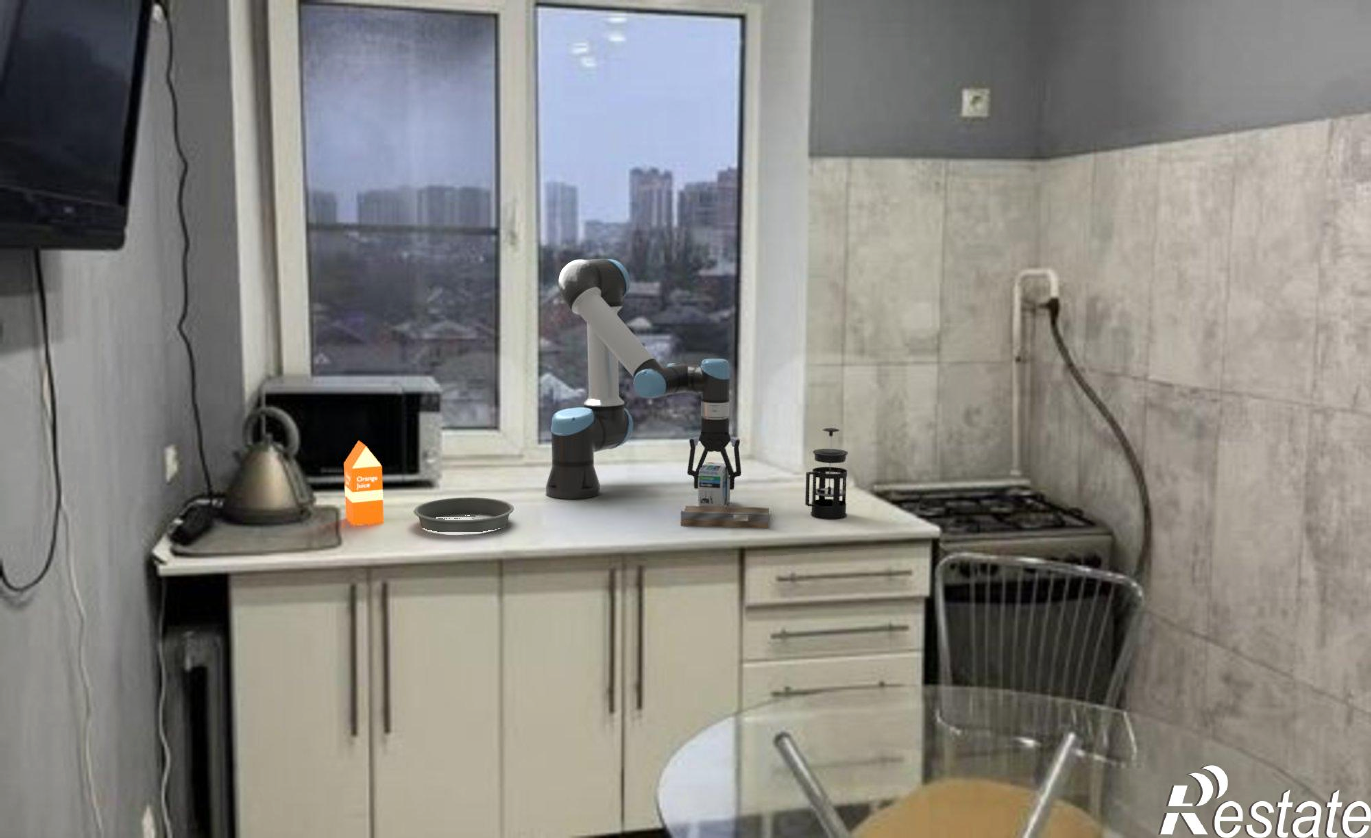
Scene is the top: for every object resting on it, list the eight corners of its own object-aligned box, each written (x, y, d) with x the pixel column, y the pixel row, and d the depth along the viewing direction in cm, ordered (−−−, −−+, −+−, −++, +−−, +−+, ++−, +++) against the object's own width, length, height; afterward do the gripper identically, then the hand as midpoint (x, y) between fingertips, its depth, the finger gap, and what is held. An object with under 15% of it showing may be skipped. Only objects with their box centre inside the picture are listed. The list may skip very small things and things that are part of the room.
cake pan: (471, 543, 281) (471, 525, 280) (393, 529, 292) (392, 511, 292) (533, 521, 302) (533, 504, 301) (458, 509, 314) (458, 492, 313)
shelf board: (680, 525, 297) (680, 512, 297) (685, 511, 312) (685, 498, 312) (768, 528, 296) (768, 514, 295) (769, 513, 311) (769, 500, 310)
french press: (839, 509, 316) (841, 424, 312) (855, 517, 307) (858, 430, 303) (798, 512, 312) (801, 426, 308) (813, 521, 303) (816, 432, 300)
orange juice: (353, 526, 294) (350, 447, 291) (345, 518, 302) (342, 441, 299) (384, 522, 298) (381, 444, 295) (376, 514, 306) (373, 438, 302)
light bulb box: (722, 510, 314) (723, 470, 312) (697, 508, 315) (698, 469, 313) (729, 501, 324) (730, 462, 323) (705, 499, 326) (705, 461, 324)
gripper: (676, 418, 313) (675, 503, 317) (752, 420, 311) (750, 505, 315) (678, 414, 320) (678, 496, 324) (752, 415, 319) (751, 498, 323)
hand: (713, 500), depth 320 cm, fingers closed on light bulb box, 7 cm apart
